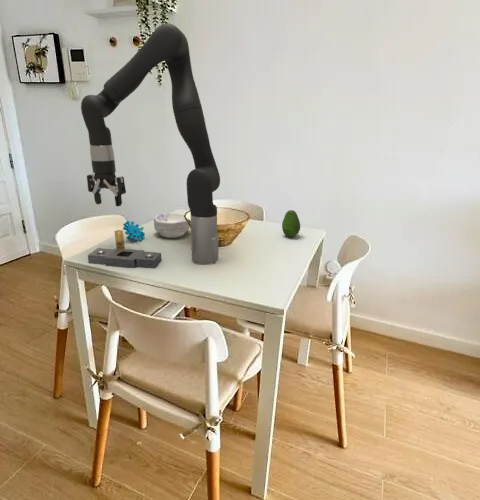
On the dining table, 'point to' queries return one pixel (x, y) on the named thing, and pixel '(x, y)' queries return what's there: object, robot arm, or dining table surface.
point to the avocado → (291, 224)
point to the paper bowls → (171, 224)
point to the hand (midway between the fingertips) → (108, 204)
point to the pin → (119, 239)
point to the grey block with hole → (125, 258)
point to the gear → (133, 231)
